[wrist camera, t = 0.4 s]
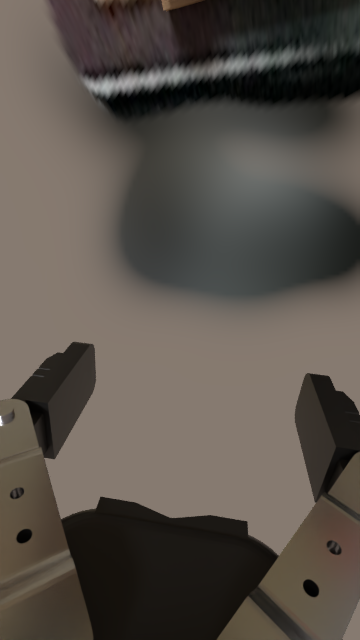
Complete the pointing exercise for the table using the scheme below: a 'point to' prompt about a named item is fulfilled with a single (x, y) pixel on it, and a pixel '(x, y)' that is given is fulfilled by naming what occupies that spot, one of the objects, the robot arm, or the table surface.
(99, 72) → the table surface
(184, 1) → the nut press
